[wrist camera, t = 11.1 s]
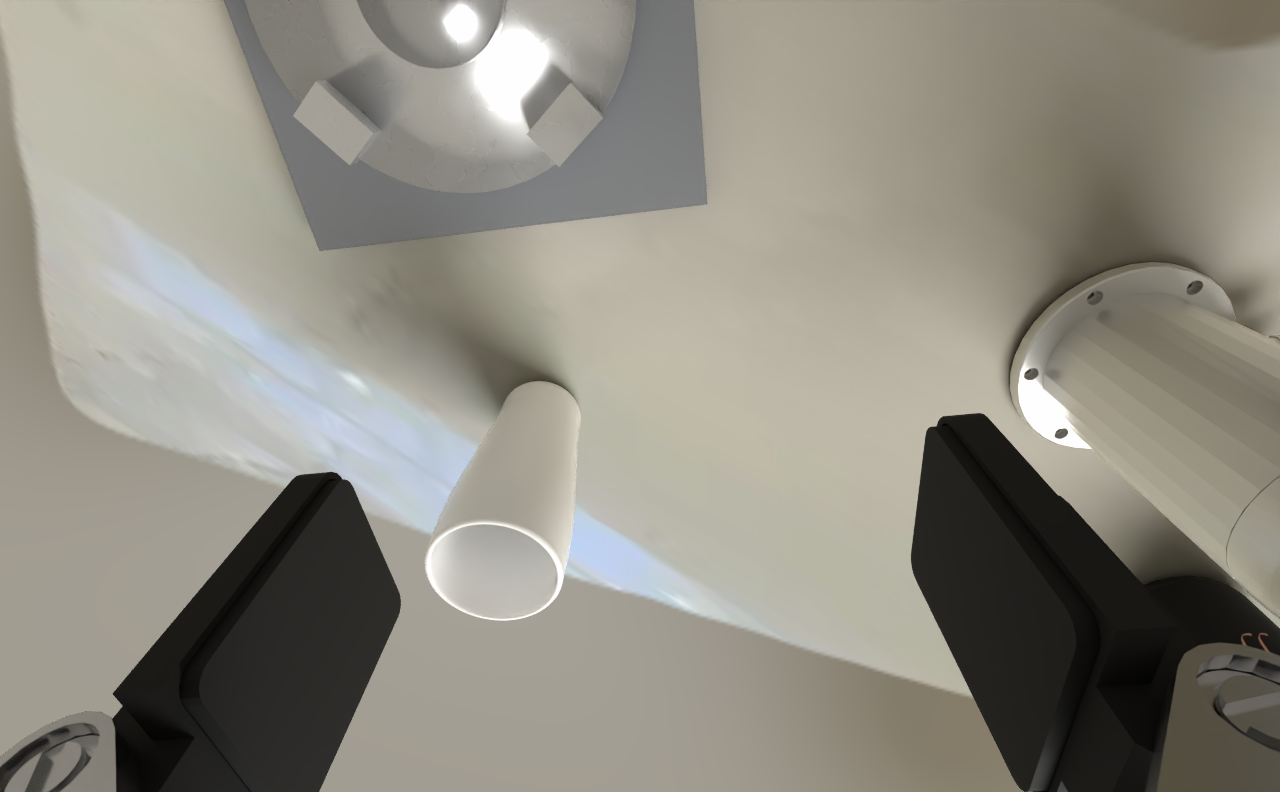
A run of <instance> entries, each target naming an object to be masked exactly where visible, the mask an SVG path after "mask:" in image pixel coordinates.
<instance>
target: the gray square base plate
mask: <svg viewBox="0 0 1280 792" xmlns="http://www.w3.org/2000/svg"><path fill="white" fill-rule="evenodd" d="M224 2H225V5H226V7H227V10H228V13H229V15H230V18H231V20H232V23H233V26H234V28H235V31H236V34H237V36H238V39H239V41H240V44H241V47H242V49H243V52H244V54H245V57H246V60H247V62H248V65H249V68H250V70H251V73H252V75H253V78H254V81H255V83H256V86H257V89H258V91H259V94H260V96H261V99H262V102H263V104H264V107H265V109H266V112H267V115H268V117H269V120H270V123H271V125H272V128H273V130H274V133H275V136H276V138H277V141H278V143H279V146H280V149H281V151H282V154H283V157H284V159H285V162H286V164H287V167H288V170H289V172H290V175H291V178H292V180H293V183H294V185H295V188H296V191H297V193H298V196H299V198H300V201H301V204H302V206H303V209H304V212H305V214H306V217H307V219H308V222H309V225H310V227H311V230H312V232H313V235H314V238H315V240H316V243H317V246H318V248H319V251H323V250H332V249H340V248H348V247H356V246H365V245H373V244H381V243H390V242H398V241H406V240H414V239H423V238H431V237H439V236H448V235H456V234H464V233H473V232H481V231H489V230H497V229H506V228H514V227H522V226H531V225H539V224H547V223H555V222H564V221H572V220H580V219H589V218H597V217H605V216H614V215H622V214H630V213H638V212H647V211H655V210H663V209H672V208H680V207H688V206H697V205H705V204H707V192H706V177H705V162H704V148H703V133H702V119H701V104H700V89H699V75H698V60H697V45H696V31H695V16H694V2H693V0H637V4H636V21H635V27H634V33H633V39H632V45H631V50H630V53H629V57H628V60H627V63H626V67H625V70H624V73H623V76H622V78H621V80H620V83H619V85H618V87H617V90H616V92H615V94H614V96H613V98H612V100H611V101H610V103H609V105H608V107H607V108H606V110H605V112H604V113H603V115H604V118H603V119H602V120H601V121H600V122H599V123H598V124H597V125H596V127H595V128H594V129H593V130H592V131H591V132H590V133H589V134H588V135H587V137H586V138H585V139H584V140H583V141H582V142H581V143H580V144H579V146H578V147H577V148H576V149H575V150H574V151H573V152H572V153H571V154H570V156H569V157H568V158H567V159H566V160H565V161H564V162H563V163H562V164H561V166H560V167H558V166H557V165H556V164H555V165H554V166H553V167H551V168H550V169H549V170H547V171H545V172H543V173H541V174H539V175H537V176H536V177H534V178H532V179H530V180H528V181H525V182H522V183H519V184H517V185H514V186H511V187H508V188H504V189H499V190H494V191H489V192H479V193H452V192H441V191H436V190H431V189H426V188H422V187H418V186H415V185H412V184H409V183H406V182H403V181H400V180H397V179H395V178H393V177H391V176H389V175H386V174H384V173H382V172H380V171H378V170H376V169H374V168H372V167H371V166H369V165H368V164H366V163H364V162H363V161H361V160H360V161H359V162H357V163H355V164H352V165H349V164H347V163H346V162H345V161H344V160H343V159H342V158H341V157H339V156H338V155H337V154H336V153H335V152H334V151H333V150H331V149H330V148H329V147H328V146H327V145H326V144H324V143H323V142H322V141H321V140H320V139H319V138H318V137H316V136H315V135H314V134H313V133H312V132H311V131H310V130H308V129H307V128H306V127H305V126H304V125H303V124H302V123H300V122H299V121H298V120H297V119H296V118H295V117H294V116H293V115H294V113H295V112H296V110H297V109H298V107H299V106H300V105H299V103H298V102H297V101H296V100H295V99H294V97H293V96H292V94H291V93H290V91H289V90H288V89H287V87H286V86H285V84H284V83H283V81H282V80H281V78H280V77H279V75H278V74H277V72H276V71H275V69H274V67H273V65H272V63H271V61H270V60H269V58H268V56H267V54H266V52H265V51H264V49H263V47H262V45H261V42H260V40H259V38H258V35H257V33H256V31H255V28H254V26H253V24H252V21H251V19H250V16H249V13H248V10H247V7H246V4H245V0H224Z"/></svg>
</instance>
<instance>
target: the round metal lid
mask: <svg viewBox="0 0 1280 792" xmlns="http://www.w3.org/2000/svg"><path fill="white" fill-rule="evenodd" d="M245 4H246V7H247V10H248V13H249V16H250V19H251V21H252V24H253V26H254V28H255V31H256V33H257V35H258V38H259V40H260V42H261V45H262V47H263V49H264V51H265V52H266V54H267V56H268V58H269V60H270V61H271V63H272V65H273V67H274V69H275V71H276V72H277V74H278V75H279V77H280V78H281V80H282V81H283V83H284V84H285V86H286V87H287V89H288V90H289V91H290V93H291V94H292V96H293V97H294V99H295V100H296V101H297V102H298V103H299V105H300V106H299V107H298V109H297V110H296V112H295V113H294V115H293V116H294V117H295V118H296V119H297V120H298V121H299V122H300V123H302V124H303V125H304V126H305V127H306V128H307V129H308V130H310V131H311V132H312V133H313V134H314V135H315V136H316V137H318V138H319V139H320V140H321V141H322V142H323V143H324V144H326V145H327V146H328V147H329V148H330V149H331V150H333V151H334V152H335V153H336V154H337V155H338V156H339V157H341V158H342V159H343V160H344V161H345V162H346V163H347V164H349V165H352V164H355V163H357V162H359V161H360V160H361V161H363V162H364V163H366V164H368V165H369V166H371V167H372V168H374V169H376V170H378V171H380V172H382V173H384V174H386V175H389V176H391V177H393V178H395V179H397V180H400V181H403V182H406V183H409V184H412V185H415V186H418V187H422V188H426V189H431V190H436V191H441V192H452V193H479V192H489V191H494V190H499V189H504V188H508V187H511V186H514V185H517V184H519V183H522V182H525V181H528V180H530V179H532V178H534V177H536V176H537V175H539V174H541V173H543V172H545V171H547V170H549V169H550V168H551V167H553V166H554V165H555V164H556V165H557V166H558V167H560V166H561V164H562V163H563V162H564V161H565V160H566V159H567V158H568V157H569V156H570V154H571V153H572V152H573V151H574V150H575V149H576V148H577V147H578V146H579V144H580V143H581V142H582V141H583V140H584V139H585V138H586V137H587V135H588V134H589V133H590V132H591V131H592V130H593V129H594V128H595V127H596V125H597V124H598V123H599V122H600V121H601V120H602V119H603V118H604V115H603V113H604V112H605V110H606V108H607V107H608V105H609V103H610V101H611V100H612V98H613V96H614V94H615V92H616V90H617V87H618V85H619V83H620V80H621V78H622V76H623V73H624V70H625V67H626V63H627V60H628V57H629V53H630V50H631V45H632V39H633V33H634V27H635V21H636V4H637V0H245Z"/></svg>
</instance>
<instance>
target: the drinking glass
mask: <svg viewBox="0 0 1280 792" xmlns="http://www.w3.org/2000/svg"><path fill="white" fill-rule="evenodd" d="M580 424H581V414H580V409H579V406H578V404H577V402H576V400H575V399H574V398H573V396H572V395H571V394H570V393H569V392H568V391H566V390H565V389H564V388H562V387H560V386H559V385H556V384H554V383H550V382H545V381H532V382H528V383H524V384H522V385H520V386H518V387H517V388H515V389H514V390H513V391H512V392H511V393H510V394H509V395H508V396H507V398H506V399H505V401H504V403H503V406H502V408H501V410H500V413H499V414H498V416H497V418H496V419H495V421H494V423H493V424H492V426H491V428H490V429H489V431H488V432H487V434H486V436H485V437H484V439H483V441H482V442H481V444H480V445H479V447H478V449H477V450H476V452H475V453H474V455H473V457H472V458H471V460H470V461H469V463H468V465H467V466H466V468H465V469H464V471H463V473H462V474H461V476H460V478H459V479H458V481H457V483H456V484H455V486H454V488H453V490H452V492H451V493H450V495H449V497H448V499H447V501H446V503H445V505H444V507H443V510H442V512H441V514H440V516H439V519H438V521H437V524H436V526H435V529H434V531H433V534H432V536H431V540H430V542H429V545H428V547H427V549H426V553H425V559H424V566H425V572H426V575H427V578H428V580H429V582H430V584H431V586H432V587H433V589H434V590H435V591H436V592H437V593H438V595H440V597H441V598H443V599H444V600H445V601H446V602H447V603H449V604H450V605H452V606H453V607H455V608H457V609H458V610H460V611H463V612H465V613H467V614H470V615H473V616H476V617H480V618H484V619H491V620H515V619H520V618H524V617H527V616H531V615H533V614H535V613H538V612H540V611H541V610H543V609H544V608H545V607H547V606H548V605H549V604H551V602H552V601H553V600H554V599H555V598H556V596H557V595H558V593H559V591H560V589H561V586H562V582H563V578H564V574H565V570H566V566H567V561H568V557H569V552H570V547H571V541H572V534H573V526H574V515H575V494H576V471H577V450H578V435H579V430H580Z"/></svg>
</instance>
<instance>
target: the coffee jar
mask: <svg viewBox="0 0 1280 792" xmlns="http://www.w3.org/2000/svg"><path fill="white" fill-rule="evenodd" d="M1144 587H1145V588H1146V589H1147V590H1148V591H1149V592H1150V593H1151V594H1152V595H1153V597H1154V598H1155V599H1156V600H1157V601H1158V602H1159V603H1160V604H1161V605H1162V606H1163V608H1164V609H1165V610H1166V611H1167V612H1168V613H1169V614H1170V615H1171V616H1172V617H1173V619H1174V620H1175V621H1176V622H1177V623H1178V624H1179V625H1180V626H1181V627H1182V628H1183V630H1184V631H1185V632H1186V633H1187V634H1188V635H1189V636H1190V637H1191V638H1192V639H1193V641H1194V642H1195V643H1196V644H1197V645H1204V644H1212V643H1219V642H1220V643H1230V644H1239V645H1246V646H1250V647H1253V648H1257V649H1260V650H1264V651H1267V652H1271V653H1274V654H1276V655H1279V656H1280V628H1279V627H1277V626H1276V625H1275V624H1274V623H1273V622H1272V621H1271V620H1270V619H1269V618H1268V617H1267V616H1266V615H1265V614H1263V613H1262V612H1261V611H1260V610H1259V609H1258V608H1257V607H1256V606H1255V605H1254V604H1253V603H1252V602H1251V601H1250V600H1248V599H1247V598H1246V597H1245V596H1244V595H1243V594H1242V593H1240V592H1239V591H1237V590H1235V589H1233V588H1231V587H1230V586H1228V585H1226V584H1223V583H1221V582H1215V581H1211V580H1209V579H1205V578H1199V577H1194V576H1184V577H1171V578H1167V579H1163V580H1159V581H1155V582H1152V583H1149V584H1147V585H1145V586H1144Z"/></svg>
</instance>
